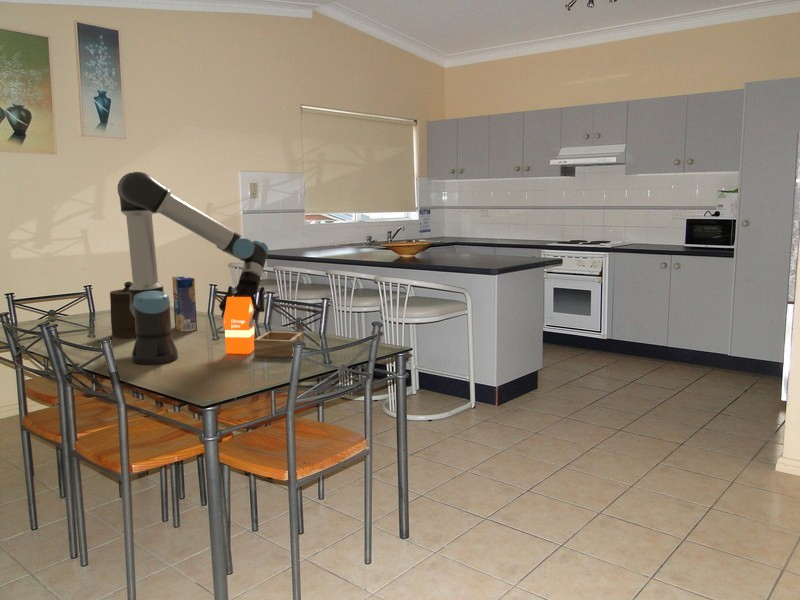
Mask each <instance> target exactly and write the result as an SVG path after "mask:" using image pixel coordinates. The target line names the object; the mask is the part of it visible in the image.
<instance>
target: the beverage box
mask: <svg viewBox="0 0 800 600" xmlns="http://www.w3.org/2000/svg"><path fill="white" fill-rule="evenodd" d="M171 278H172V279H171V281H172V296H173V312H174V315H173V316H174V328H175V329H178V330H177V331H179V332H180V333H183V332H182V331H186V332H193V330H196V331H198V325H197V324H198V323H197V321H198V320H197V305H196V304H197V303H196V301H197V300H196V284H195V282H196V281H195V278H193V277H191V276H189V275H185V276H173V277H171Z"/></svg>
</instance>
